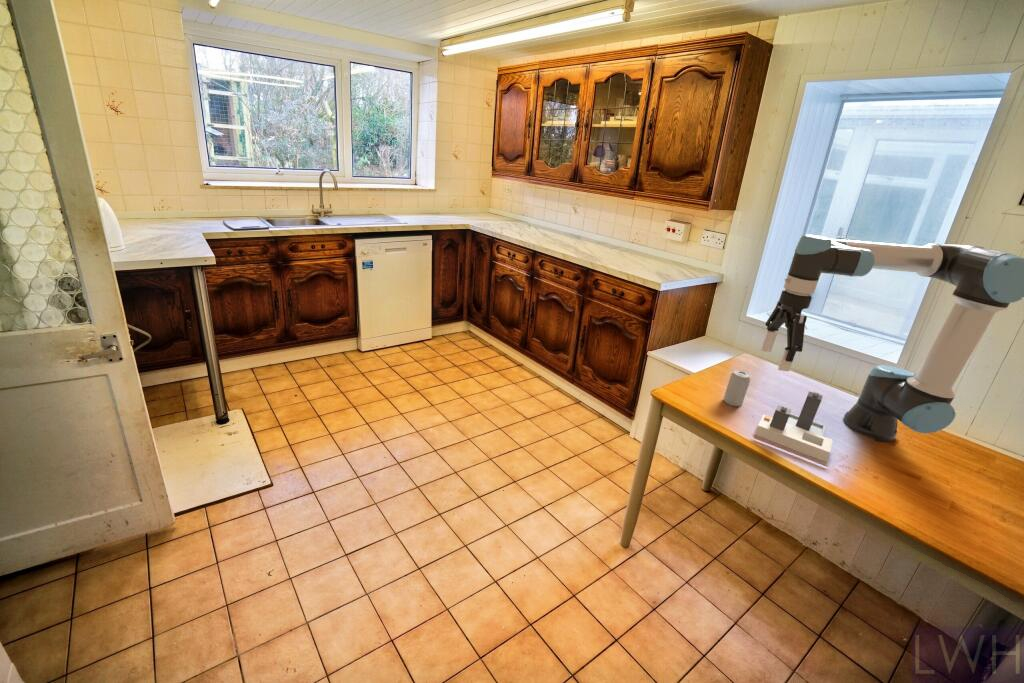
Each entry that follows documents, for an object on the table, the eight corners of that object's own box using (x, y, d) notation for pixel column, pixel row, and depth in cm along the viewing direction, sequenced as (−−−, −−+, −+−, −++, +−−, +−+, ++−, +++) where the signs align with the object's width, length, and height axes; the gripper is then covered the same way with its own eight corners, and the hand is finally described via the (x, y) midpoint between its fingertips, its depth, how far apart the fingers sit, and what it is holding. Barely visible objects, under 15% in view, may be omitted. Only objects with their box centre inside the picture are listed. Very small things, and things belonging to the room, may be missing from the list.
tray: (823, 429, 160) (825, 425, 160) (820, 441, 153) (822, 438, 152) (784, 415, 167) (786, 411, 166) (780, 426, 159) (781, 423, 159)
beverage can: (743, 402, 173) (752, 373, 168) (740, 409, 167) (750, 379, 163) (724, 396, 175) (733, 367, 171) (721, 403, 170) (730, 373, 166)
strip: (828, 450, 149) (841, 420, 144) (825, 463, 142) (838, 432, 138) (759, 424, 159) (770, 396, 155) (754, 435, 152) (764, 406, 148)
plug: (810, 426, 160) (823, 393, 155) (808, 431, 157) (822, 397, 152) (796, 421, 162) (810, 388, 157) (795, 426, 159) (808, 392, 154)
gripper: (767, 278, 144) (747, 342, 153) (803, 304, 121) (777, 377, 130) (793, 281, 144) (771, 345, 152) (833, 307, 121) (806, 381, 129)
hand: (774, 360), depth 141 cm, fingers open, 13 cm apart
